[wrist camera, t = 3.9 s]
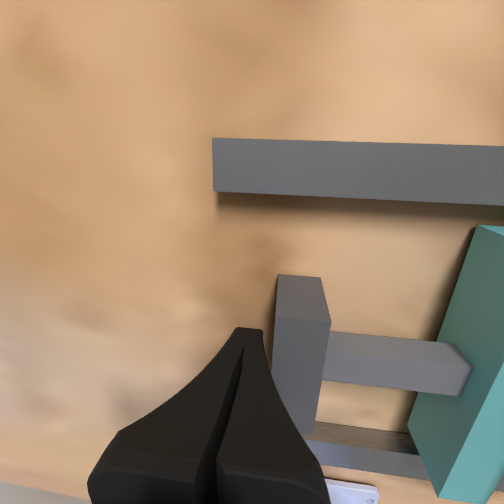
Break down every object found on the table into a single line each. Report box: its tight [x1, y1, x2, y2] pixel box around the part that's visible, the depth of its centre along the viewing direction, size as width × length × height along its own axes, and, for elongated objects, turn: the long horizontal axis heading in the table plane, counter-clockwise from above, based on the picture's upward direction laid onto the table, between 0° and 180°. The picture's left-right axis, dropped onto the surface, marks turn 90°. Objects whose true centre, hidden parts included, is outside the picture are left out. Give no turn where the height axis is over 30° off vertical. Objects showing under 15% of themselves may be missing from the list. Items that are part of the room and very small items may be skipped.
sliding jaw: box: [271, 225, 504, 504], centre depth 12 cm, size 12×10×4 cm
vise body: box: [212, 138, 504, 492], centre depth 12 cm, size 18×22×4 cm
